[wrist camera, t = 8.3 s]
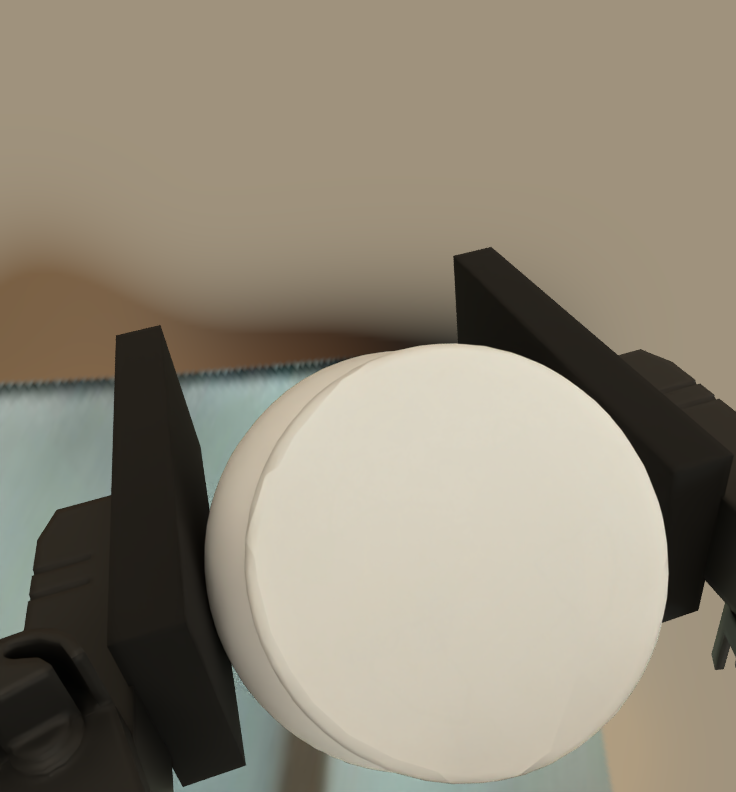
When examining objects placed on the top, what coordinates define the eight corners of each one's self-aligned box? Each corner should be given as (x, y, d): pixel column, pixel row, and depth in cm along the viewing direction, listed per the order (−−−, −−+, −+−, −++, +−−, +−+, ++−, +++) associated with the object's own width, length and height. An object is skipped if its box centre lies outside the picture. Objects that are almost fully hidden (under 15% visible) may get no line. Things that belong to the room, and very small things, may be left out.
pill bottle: (370, 382, 17) (478, 166, 7) (525, 555, 16) (858, 569, 7) (188, 537, 15) (31, 525, 6) (350, 728, 15) (455, 1042, 6)
